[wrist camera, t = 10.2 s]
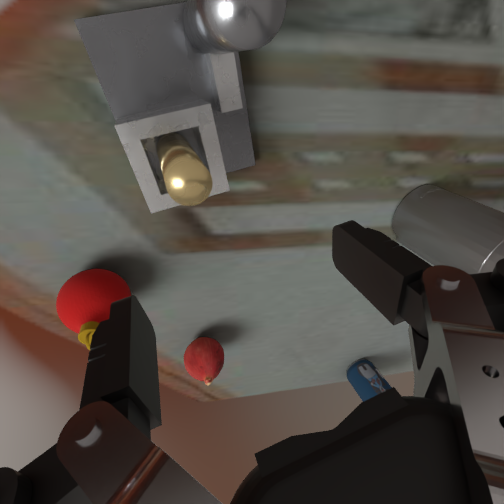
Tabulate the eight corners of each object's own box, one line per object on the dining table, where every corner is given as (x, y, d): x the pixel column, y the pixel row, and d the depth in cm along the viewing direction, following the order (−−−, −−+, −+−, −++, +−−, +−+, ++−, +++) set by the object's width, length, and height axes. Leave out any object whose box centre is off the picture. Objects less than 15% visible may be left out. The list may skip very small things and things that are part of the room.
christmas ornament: (138, 296, 36) (139, 359, 28) (77, 310, 34) (60, 383, 26) (122, 250, 32) (117, 310, 24) (52, 264, 30) (23, 333, 22)
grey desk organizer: (253, 164, 32) (299, 200, 23) (147, 193, 30) (152, 247, 21) (226, -14, 23) (283, -65, 14) (71, 9, 21) (24, -34, 12)
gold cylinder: (184, 129, 26) (206, 155, 19) (194, 162, 28) (217, 198, 20) (151, 137, 26) (158, 167, 18) (163, 170, 28) (174, 211, 20)
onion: (217, 321, 43) (231, 364, 37) (218, 346, 46) (231, 389, 40) (179, 330, 42) (186, 377, 35) (182, 355, 45) (190, 402, 38)
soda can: (351, 379, 70) (384, 427, 60) (339, 371, 66) (373, 422, 56) (372, 362, 69) (410, 408, 59) (362, 353, 65) (401, 402, 55)
